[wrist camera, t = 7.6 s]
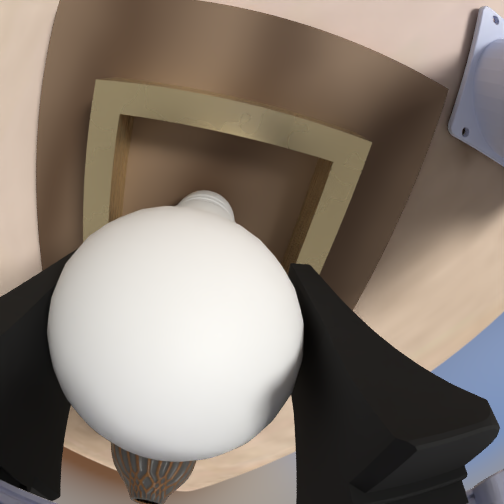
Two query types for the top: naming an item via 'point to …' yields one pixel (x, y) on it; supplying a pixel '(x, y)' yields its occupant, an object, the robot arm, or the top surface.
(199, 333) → the white light bulb
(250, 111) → the socket collar
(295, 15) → the top surface
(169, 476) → the vase
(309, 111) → the lamp base
